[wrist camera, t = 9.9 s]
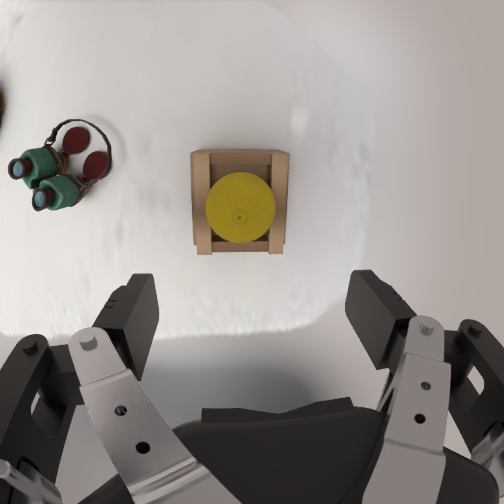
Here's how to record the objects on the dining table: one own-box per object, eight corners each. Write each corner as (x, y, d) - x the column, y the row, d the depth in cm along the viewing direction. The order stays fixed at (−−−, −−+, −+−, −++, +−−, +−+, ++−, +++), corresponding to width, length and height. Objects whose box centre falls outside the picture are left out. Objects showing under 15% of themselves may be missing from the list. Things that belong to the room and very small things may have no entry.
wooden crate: (197, 150, 30) (186, 154, 22) (278, 150, 30) (294, 154, 23) (199, 226, 33) (190, 254, 26) (275, 225, 34) (289, 253, 26)
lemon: (281, 186, 26) (296, 201, 18) (253, 236, 28) (256, 270, 20) (228, 158, 25) (220, 161, 17) (201, 211, 27) (184, 235, 19)
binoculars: (100, 156, 20) (38, 234, 21) (131, 155, 30) (79, 211, 31) (48, 92, 17) (-7, 172, 18) (89, 106, 27) (41, 164, 28)
